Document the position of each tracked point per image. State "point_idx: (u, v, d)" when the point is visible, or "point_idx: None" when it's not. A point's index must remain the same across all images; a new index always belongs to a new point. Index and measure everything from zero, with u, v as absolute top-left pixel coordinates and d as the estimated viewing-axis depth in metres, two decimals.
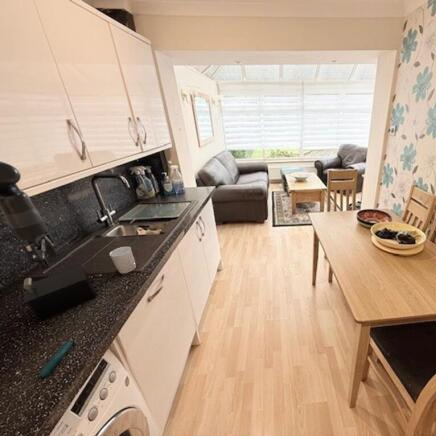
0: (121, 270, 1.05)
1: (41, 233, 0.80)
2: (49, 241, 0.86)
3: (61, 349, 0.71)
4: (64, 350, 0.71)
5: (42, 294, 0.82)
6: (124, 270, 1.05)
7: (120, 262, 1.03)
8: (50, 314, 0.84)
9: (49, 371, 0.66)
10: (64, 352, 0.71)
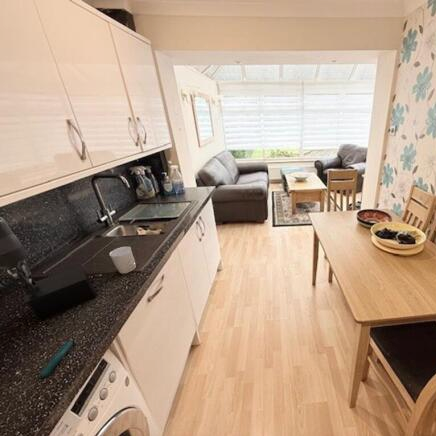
0: (121, 270, 1.05)
1: (23, 257, 0.78)
2: (27, 267, 0.83)
3: (62, 349, 0.71)
4: (65, 350, 0.71)
5: (42, 294, 0.82)
6: (124, 270, 1.05)
7: (120, 262, 1.03)
8: (50, 314, 0.84)
9: (50, 371, 0.66)
10: (65, 352, 0.71)
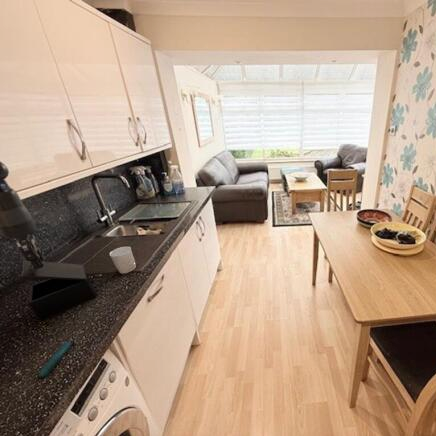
0: (121, 270, 1.05)
1: (33, 231, 0.78)
2: (36, 242, 0.82)
3: (59, 349, 0.71)
4: (62, 350, 0.71)
5: (42, 275, 0.80)
6: (124, 270, 1.05)
7: (120, 262, 1.03)
8: (50, 314, 0.84)
9: (47, 371, 0.65)
10: (62, 352, 0.70)
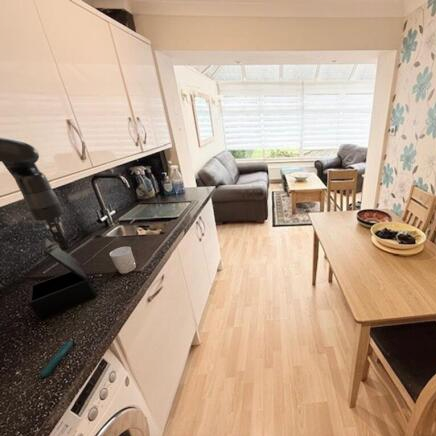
0: (121, 270, 1.05)
1: (60, 213, 0.81)
2: (62, 225, 0.86)
3: (62, 349, 0.71)
4: (65, 350, 0.71)
5: (58, 258, 0.82)
6: (124, 270, 1.05)
7: (120, 262, 1.03)
8: (50, 314, 0.84)
9: (50, 371, 0.66)
10: (65, 352, 0.71)
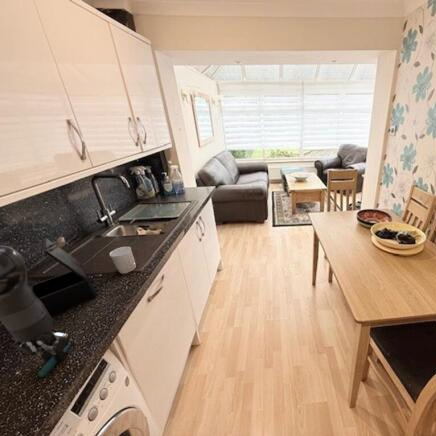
0: (121, 270, 1.05)
1: (52, 319, 0.67)
2: None
3: None
4: None
5: (58, 258, 0.82)
6: (124, 270, 1.05)
7: (120, 262, 1.03)
8: (50, 314, 0.84)
9: (46, 370, 0.65)
10: None
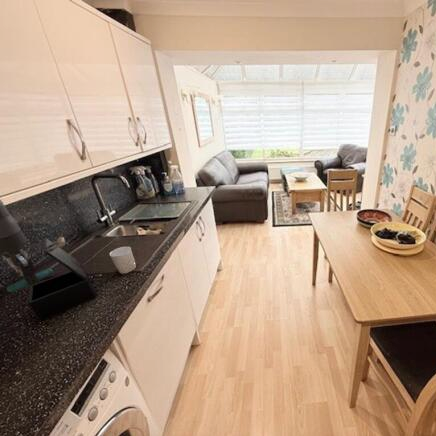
0: (121, 270, 1.05)
1: (25, 242, 0.69)
2: None
3: (37, 273, 0.74)
4: (38, 274, 0.74)
5: (58, 258, 0.82)
6: (124, 270, 1.05)
7: (120, 262, 1.03)
8: (50, 314, 0.84)
9: (12, 287, 0.69)
10: (37, 276, 0.73)
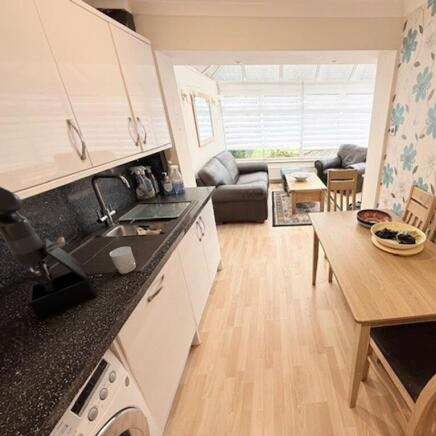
0: (121, 270, 1.05)
1: (45, 256, 0.82)
2: (48, 265, 0.86)
3: None
4: None
5: (58, 258, 0.82)
6: (124, 270, 1.05)
7: (120, 262, 1.03)
8: (50, 314, 0.84)
9: None
10: None
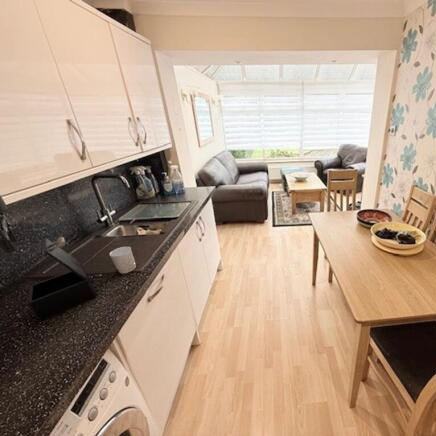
0: (121, 270, 1.05)
1: (2, 210, 0.70)
2: (8, 223, 0.75)
3: None
4: None
5: (58, 258, 0.82)
6: (124, 270, 1.05)
7: (120, 262, 1.03)
8: (50, 314, 0.84)
9: None
10: None
